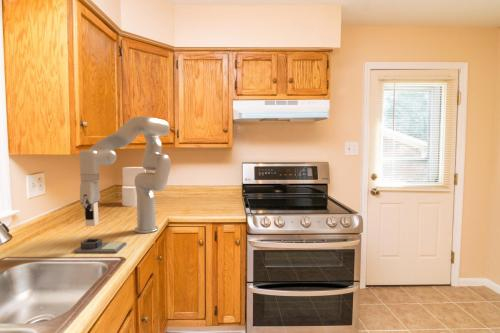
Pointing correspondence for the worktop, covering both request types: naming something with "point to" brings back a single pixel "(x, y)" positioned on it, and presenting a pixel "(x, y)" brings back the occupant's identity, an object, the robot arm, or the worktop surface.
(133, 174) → the white tall block
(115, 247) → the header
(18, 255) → the worktop surface
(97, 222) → the plug
